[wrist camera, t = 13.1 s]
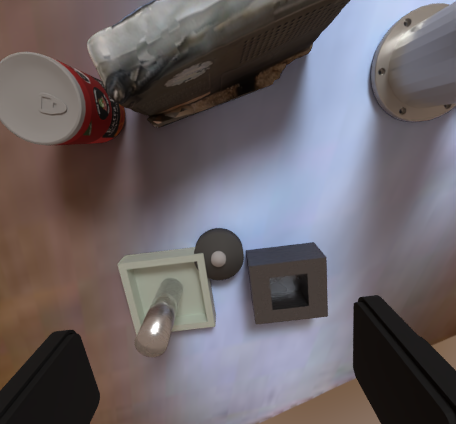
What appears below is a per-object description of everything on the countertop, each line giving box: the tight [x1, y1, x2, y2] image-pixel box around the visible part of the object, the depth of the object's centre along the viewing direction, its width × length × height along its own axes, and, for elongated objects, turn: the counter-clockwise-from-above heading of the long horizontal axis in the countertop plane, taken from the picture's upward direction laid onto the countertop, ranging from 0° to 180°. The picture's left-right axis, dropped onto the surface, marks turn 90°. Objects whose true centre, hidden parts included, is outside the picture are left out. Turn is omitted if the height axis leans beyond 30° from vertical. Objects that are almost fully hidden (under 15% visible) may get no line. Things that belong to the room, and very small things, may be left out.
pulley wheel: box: [194, 228, 244, 280], centre depth 37 cm, size 7×7×3 cm
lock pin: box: [135, 278, 183, 357], centre depth 34 cm, size 4×4×11 cm
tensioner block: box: [246, 242, 328, 324], centre depth 37 cm, size 10×9×5 cm
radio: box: [87, 0, 350, 128], centre depth 25 cm, size 23×9×15 cm, turn 107°
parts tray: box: [118, 247, 216, 335], centre depth 39 cm, size 12×12×3 cm
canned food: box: [0, 52, 125, 145], centre depth 28 cm, size 8×8×11 cm
